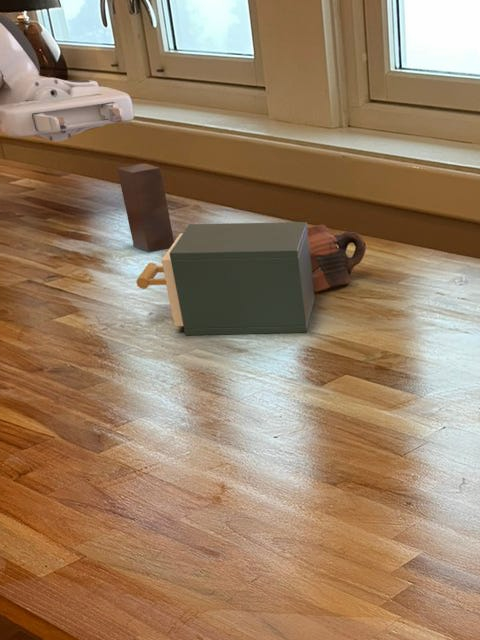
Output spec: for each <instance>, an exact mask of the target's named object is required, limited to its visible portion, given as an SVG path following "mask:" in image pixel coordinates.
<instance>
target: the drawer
mask: <svg viewBox="0 0 480 640" xmlns="http://www.w3.org/2000/svg"><path fill="white" fill-rule="evenodd" d="M183 233H184V232H180V233H179V235H178V236H177V237H176V239H174V243H173V244H172V246H171V247H170V248H168V250H167V252H166V253H165V254H164V256H163V257H162V258H161V264H162V266H158V265H157V264H156V263H154V262H149V263H148V264H147V265H146V266H145V268H144V269H143V270H142V272H140V275H139V276H138V277H137V279H136V285H137V287H138V288H139V289H142V290H145V289H147V288H148V287H149V286H163V285H164V286H166V289H167V295H168V299H169V305H170V310H171V315H172V319H173V325H174V327H184V326H183V321H182V315H181V310H180V305H179V300H178V295H177V289H176V284H175V279H174V274H173V269H172V264H171V259H170V254H169V253H170V252H171V250H172V249H173V247H174V246H175V244H176V243H177V242H178V240H179V239H180V237H181V236H182V234H183ZM158 273H163V275H164V278H161V277H160V278H155V277H156V276H157V274H158Z"/></svg>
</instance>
